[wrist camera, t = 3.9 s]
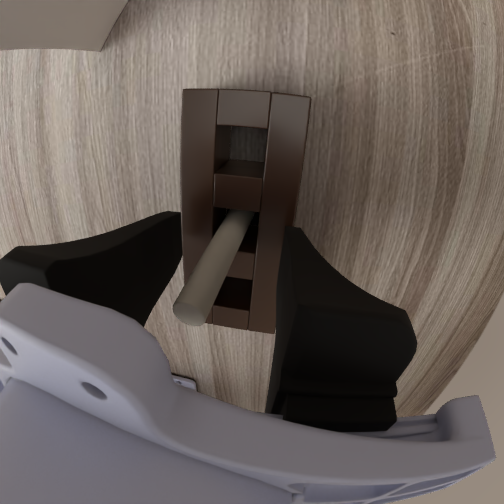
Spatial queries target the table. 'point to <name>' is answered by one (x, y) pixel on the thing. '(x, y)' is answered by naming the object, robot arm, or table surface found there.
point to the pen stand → (241, 193)
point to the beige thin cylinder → (212, 269)
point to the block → (57, 23)
